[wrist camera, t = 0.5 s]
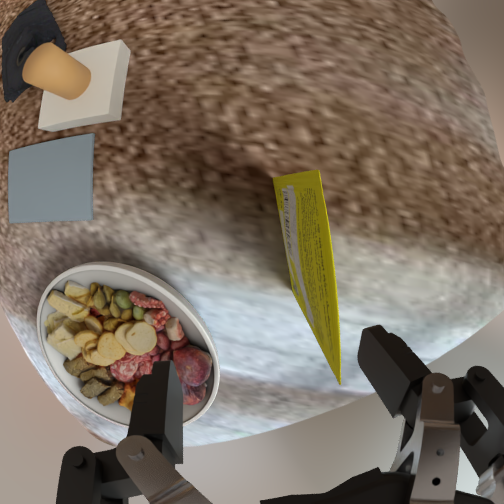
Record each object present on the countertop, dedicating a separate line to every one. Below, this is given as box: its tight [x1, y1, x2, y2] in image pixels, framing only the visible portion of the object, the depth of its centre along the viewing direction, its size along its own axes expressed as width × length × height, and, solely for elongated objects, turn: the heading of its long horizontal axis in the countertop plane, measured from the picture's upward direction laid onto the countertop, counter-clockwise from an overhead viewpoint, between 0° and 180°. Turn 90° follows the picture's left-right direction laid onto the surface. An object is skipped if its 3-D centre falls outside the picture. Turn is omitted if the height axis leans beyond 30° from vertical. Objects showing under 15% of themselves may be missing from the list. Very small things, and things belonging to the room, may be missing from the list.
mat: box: [8, 133, 95, 223], centre depth 32 cm, size 12×18×1 cm, turn 88°
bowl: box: [37, 262, 220, 428], centre depth 35 cm, size 30×30×8 cm
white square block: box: [38, 40, 131, 132], centre depth 28 cm, size 11×12×4 cm
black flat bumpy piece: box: [2, 0, 66, 102], centre depth 23 cm, size 15×22×5 cm
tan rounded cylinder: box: [22, 42, 91, 100], centre depth 21 cm, size 5×5×9 cm
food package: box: [272, 170, 341, 385], centre depth 26 cm, size 15×1×20 cm, turn 11°
